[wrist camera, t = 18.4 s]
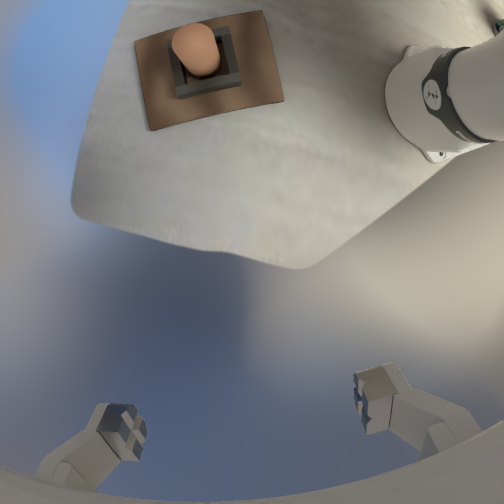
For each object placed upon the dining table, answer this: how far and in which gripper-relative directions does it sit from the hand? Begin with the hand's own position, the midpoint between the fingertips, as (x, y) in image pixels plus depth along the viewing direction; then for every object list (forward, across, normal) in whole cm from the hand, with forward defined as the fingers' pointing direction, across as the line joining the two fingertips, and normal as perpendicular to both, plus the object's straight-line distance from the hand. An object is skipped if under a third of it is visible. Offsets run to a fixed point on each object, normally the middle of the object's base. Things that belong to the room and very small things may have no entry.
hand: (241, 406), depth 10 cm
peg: (+34, +1, -21) cm, 40 cm away
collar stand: (+35, +1, -21) cm, 41 cm away
